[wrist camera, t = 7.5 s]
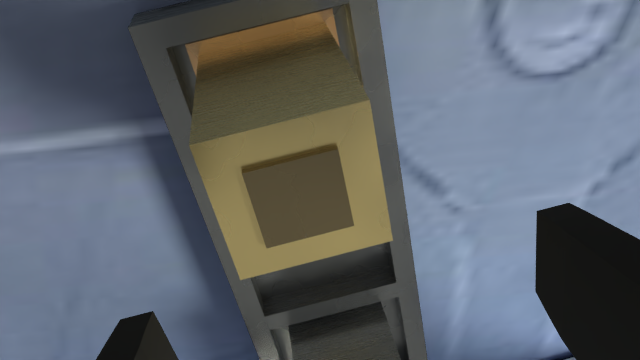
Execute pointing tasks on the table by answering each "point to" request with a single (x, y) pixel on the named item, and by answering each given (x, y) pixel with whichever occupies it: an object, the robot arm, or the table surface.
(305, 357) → the square block
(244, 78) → the tan hollow block
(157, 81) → the rail
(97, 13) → the table surface
